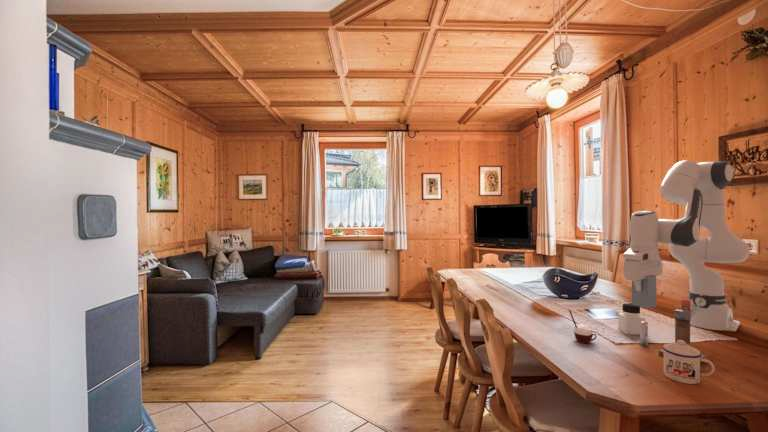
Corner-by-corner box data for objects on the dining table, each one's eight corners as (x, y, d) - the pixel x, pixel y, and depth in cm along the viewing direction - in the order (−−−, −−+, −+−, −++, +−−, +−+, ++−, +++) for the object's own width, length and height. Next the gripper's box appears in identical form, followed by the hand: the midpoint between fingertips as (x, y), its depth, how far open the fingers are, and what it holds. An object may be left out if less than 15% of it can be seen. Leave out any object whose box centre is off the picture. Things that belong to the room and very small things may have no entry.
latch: (701, 311, 129) (701, 295, 128) (689, 322, 118) (689, 304, 117) (686, 308, 132) (686, 293, 132) (672, 318, 121) (672, 302, 121)
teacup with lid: (661, 378, 107) (661, 341, 107) (663, 367, 114) (663, 333, 113) (714, 392, 99) (715, 352, 98) (714, 379, 105) (714, 342, 105)
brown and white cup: (597, 342, 136) (598, 312, 136) (593, 347, 131) (594, 316, 131) (570, 336, 142) (572, 307, 142) (566, 339, 138) (567, 310, 137)
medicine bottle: (645, 335, 141) (645, 306, 141) (625, 334, 143) (625, 305, 142) (636, 329, 148) (636, 301, 148) (617, 328, 150) (617, 301, 149)
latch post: (672, 349, 128) (672, 313, 127) (707, 359, 119) (707, 321, 119) (658, 354, 123) (658, 318, 123) (693, 366, 114) (693, 326, 114)
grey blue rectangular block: (639, 302, 135) (639, 272, 135) (656, 305, 130) (656, 275, 130) (631, 304, 133) (631, 274, 132) (648, 308, 128) (648, 277, 127)
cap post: (642, 343, 133) (642, 320, 133) (649, 345, 131) (649, 322, 131) (638, 344, 132) (638, 321, 132) (645, 347, 130) (645, 323, 130)
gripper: (648, 250, 138) (649, 284, 139) (619, 254, 129) (620, 291, 129) (667, 251, 133) (667, 287, 133) (638, 256, 123) (638, 295, 124)
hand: (644, 289), depth 131 cm, fingers closed on grey blue rectangular block, 6 cm apart
